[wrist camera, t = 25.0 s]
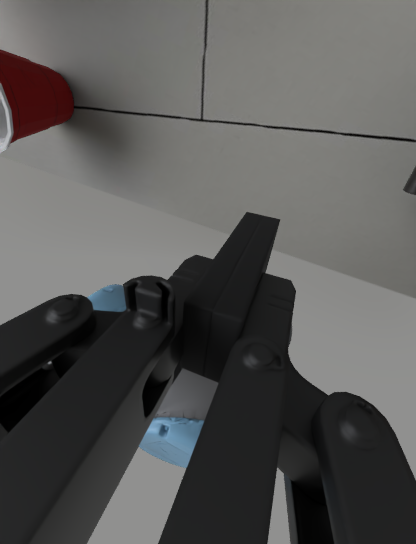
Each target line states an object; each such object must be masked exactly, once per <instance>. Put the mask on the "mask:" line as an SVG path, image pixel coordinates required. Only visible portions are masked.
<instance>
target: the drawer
mask: <svg viewBox="0 0 416 544" xmlns="http://www.w3.org/2000/svg"><path fill="white" fill-rule="evenodd" d="M403 190H404V191H405V192H407V193H410V194H414V195H416V167H415V168H414V170H413V172H412V174H411V176H410V178H409V179H408V181H407V183H406V185H405V187H404V189H403Z"/></svg>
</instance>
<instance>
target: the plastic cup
mask: <svg viewBox="0 0 416 544" xmlns="http://www.w3.org/2000/svg"><path fill="white" fill-rule="evenodd" d="M73 111H74V101H73V96H72V92H71V90H70V88H69V86H68V84H67V82H66V81H65V80H64V78H63V77H62V76H61V75H60V74H59V73H57V72H55V71H54V70H52V69H50V68H48V67H46V66H43V65H40V64H37V63H34V62H31V61H30V60H28V59H26V58H23V57H20V56H17V55H14V54H12V53H9V52H6V51H3V50H0V153H1V152H2V151H4V150H5V149H7V148H8V147H9V146H10V143H12V142H14V141H16V140H18V139H20V138H23V137H26V136H29V135H32V134H35V133H37V132H40V131H43V130H46V129H48V128H50V127H52V126H55V125H58V124H62V123H64V122H65V121H67V120H68V119H70V118H71V116H72V114H73Z"/></svg>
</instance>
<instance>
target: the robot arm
mask: <svg viewBox="0 0 416 544" xmlns="http://www.w3.org/2000/svg"><path fill="white" fill-rule="evenodd" d="M279 222H280V219H276V218H271V217H267V216H262V215H258V214H254V213H249V212H246V214H245V215H244V217H243V218H242V219H241V221H240V222H239V224H238V225H237V227H236V228H235V229H234V231H233V232H232V234H231V235H230V237H229V238H228V239H227V241H226V242H225V244H224V245H223V247H222V248H221V249H220V251H219V253H218V254H217V255H216V256H215V258H214V259H210V258H206V257H203V256H199V255H195V256H192V257H190V258H188V259H186V260H185V261H184V262H183V263H182V264H181V265H180V267H179V268H178V269H177V270H176V271H175V272H174V273H173V276H171V277H170V278H169V279H168V280H166V279H163V278H162V277H156V276H140V277H137V278H133V279H131V280H129V281H127V282H126V283H124V284H123V286H122V285H117V284H115V285H109V286H107V287H104V288H102V289H100V290H98V291H97V292H95V293H93V294H92V295H90V296H89V297H84V296H82V295H75V294H69V295H62V296H58V297H56V298H53V299H51V300H48V301H46V302H45V303H43V304H41V305H39V306H37V307H35V308H33V309H31V310H29V311H27V312H25V313H23V314H21V315H19V316H18V317H15V318H14V319H11V320H10V321H8V322H6V323H4V324H2V325H0V544H87V542H88V540H89V538H90V536H91V535H92V533H93V531H94V529H95V527H96V525H97V523H98V521H99V520H100V518H101V516H102V514H103V512H104V510H105V508H106V507H107V504H108V503H109V501H110V499H111V497H112V495H113V493H114V491H115V490H116V488H117V486H118V484H119V482H120V480H121V478H122V477H123V475H124V473H125V471H126V469H127V467H128V465H129V463H130V461H131V460H132V458H133V456H134V454H135V452H136V450H137V448H138V447H140V448H141V449H143V450H144V451H146V452H147V453H149V454H151V455H153V456H155V457H157V458H159V459H161V460H163V461H166V462H168V463H171V464H174V465H177V466H180V467H185V468H186V471H185V474H184V476H183V479H182V482H181V484H180V487H179V490H178V493H177V495H176V498H175V500H174V503H173V506H172V508H171V511H170V514H169V516H168V519H167V522H166V524H165V527H164V530H163V532H162V535H161V538H160V540H159V543H158V544H267V542H268V534H269V526H270V518H271V510H272V503H273V495H274V487H275V479H276V471H277V467H278V468H279V469H280V470H281V471H282V472H283V473H284V481H285V491H286V501H287V512H288V522H289V532H290V542H291V544H416V480H415V478H414V475H413V473H412V471H411V469H410V466H409V464H408V462H407V459H406V457H405V455H404V453H403V450H402V448H401V446H400V444H399V441H398V439H397V437H396V434H395V432H394V431H393V429H392V427H391V426H390V424H389V423H388V421H387V419H386V418H385V417H384V416H383V415H382V414H381V413H380V412H379V411H378V410H377V409H376V408H375V407H374V406H373V405H372V404H370V403H369V402H367V401H366V400H364V399H363V398H361V397H360V396H357V395H354V394H351V393H348V392H334V393H332V394H331V395H329V396H328V395H327V394H326V393H324V392H323V391H321V390H320V389H318V388H317V387H315V386H314V385H312V384H311V383H310V382H308V381H307V380H306V379H305V378H303V377H302V376H301V375H300V374H299V373H298V371H297V370H296V369H295V368H294V366H293V365H292V363H291V361H290V358H289V355H288V344H289V336H290V329H291V322H292V315H293V308H294V301H295V294H296V290H295V288H294V286H293V284H292V282H291V280H288V279H284V278H280V277H276V276H273V275H270V274H266V273H265V272H266V269H267V265H268V262H269V258H270V254H271V251H272V247H273V244H274V240H275V237H276V233H277V229H278V226H279Z"/></svg>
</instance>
